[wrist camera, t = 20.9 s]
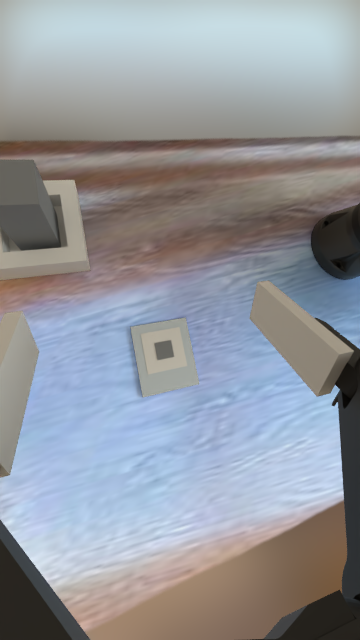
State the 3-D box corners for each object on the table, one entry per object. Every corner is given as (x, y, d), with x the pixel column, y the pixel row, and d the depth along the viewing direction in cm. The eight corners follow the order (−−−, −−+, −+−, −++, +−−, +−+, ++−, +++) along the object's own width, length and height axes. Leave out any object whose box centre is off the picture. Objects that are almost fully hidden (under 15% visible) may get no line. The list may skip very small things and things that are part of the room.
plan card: (185, 318, 47) (185, 317, 46) (198, 383, 45) (199, 384, 44) (130, 327, 44) (130, 326, 44) (142, 397, 43) (143, 397, 42)
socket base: (78, 197, 46) (74, 179, 42) (90, 270, 44) (87, 260, 40) (-10, 200, 43) (-25, 182, 38) (-1, 280, 41) (-15, 270, 37)
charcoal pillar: (56, 214, 43) (33, 159, 32) (61, 247, 42) (39, 203, 31) (17, 216, 42) (-23, 159, 30) (21, 250, 41) (-18, 205, 29)
